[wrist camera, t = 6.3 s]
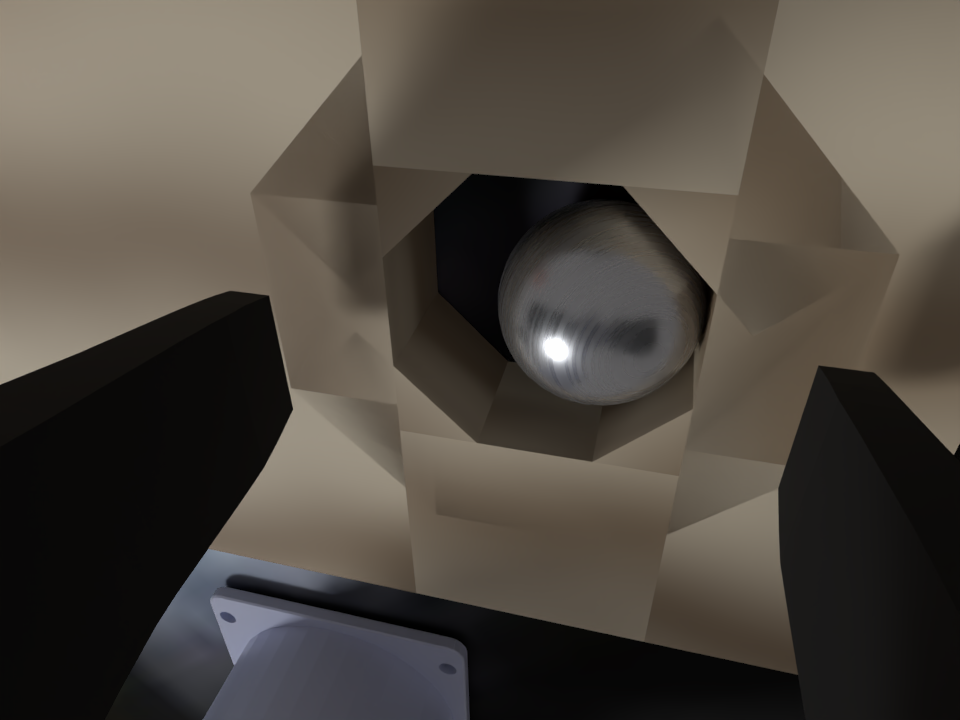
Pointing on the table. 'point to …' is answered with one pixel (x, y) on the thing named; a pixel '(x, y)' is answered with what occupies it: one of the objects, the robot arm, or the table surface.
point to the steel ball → (600, 303)
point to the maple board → (447, 334)
